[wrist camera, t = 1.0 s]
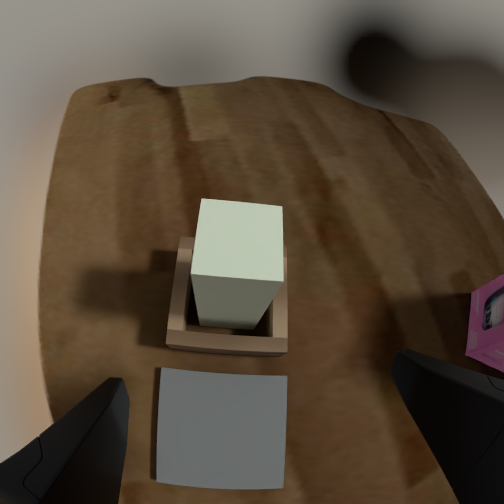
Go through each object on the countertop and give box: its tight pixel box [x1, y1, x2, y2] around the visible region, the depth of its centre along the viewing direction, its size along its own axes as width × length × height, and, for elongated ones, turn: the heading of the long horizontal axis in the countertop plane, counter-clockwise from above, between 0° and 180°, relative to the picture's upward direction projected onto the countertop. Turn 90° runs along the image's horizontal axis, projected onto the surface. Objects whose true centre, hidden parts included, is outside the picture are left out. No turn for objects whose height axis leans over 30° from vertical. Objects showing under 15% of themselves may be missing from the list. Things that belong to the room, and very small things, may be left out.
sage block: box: [191, 199, 284, 330], centre depth 18 cm, size 4×4×10 cm
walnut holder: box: [166, 237, 287, 357], centre depth 21 cm, size 8×8×2 cm
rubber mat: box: [157, 367, 287, 489], centre depth 17 cm, size 9×9×1 cm
